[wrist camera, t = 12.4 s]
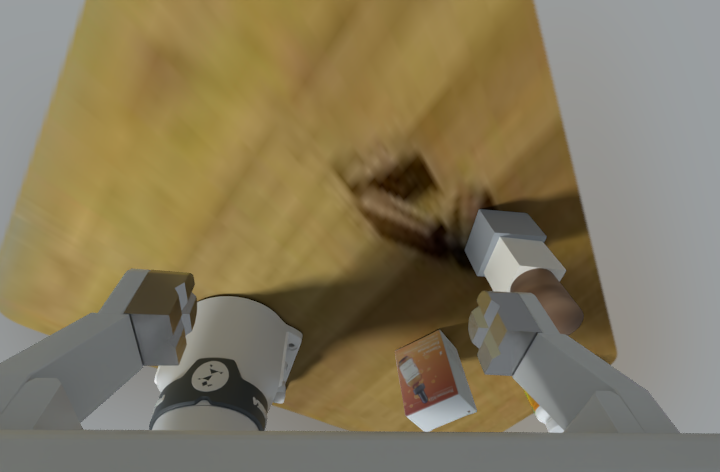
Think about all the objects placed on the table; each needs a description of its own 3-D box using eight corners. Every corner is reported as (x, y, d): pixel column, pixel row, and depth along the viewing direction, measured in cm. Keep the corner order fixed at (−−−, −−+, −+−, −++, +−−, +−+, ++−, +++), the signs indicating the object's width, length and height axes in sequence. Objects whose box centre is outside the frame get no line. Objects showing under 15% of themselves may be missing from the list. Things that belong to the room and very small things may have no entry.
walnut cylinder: (543, 304, 40) (568, 341, 35) (503, 300, 39) (524, 338, 35) (563, 270, 37) (593, 306, 33) (521, 266, 36) (546, 302, 32)
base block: (509, 253, 48) (526, 279, 44) (464, 250, 48) (477, 276, 43) (526, 212, 45) (546, 236, 41) (479, 208, 44) (494, 232, 40)
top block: (523, 276, 44) (544, 307, 40) (483, 272, 43) (500, 303, 39) (542, 241, 41) (566, 270, 37) (499, 236, 40) (519, 265, 36)
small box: (439, 327, 55) (460, 393, 47) (456, 347, 58) (479, 412, 49) (393, 350, 57) (404, 417, 49) (411, 368, 60) (425, 434, 52)
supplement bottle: (510, 377, 64) (537, 435, 56) (534, 359, 61) (565, 417, 53) (533, 386, 65) (561, 443, 57) (556, 368, 63) (590, 425, 55)
